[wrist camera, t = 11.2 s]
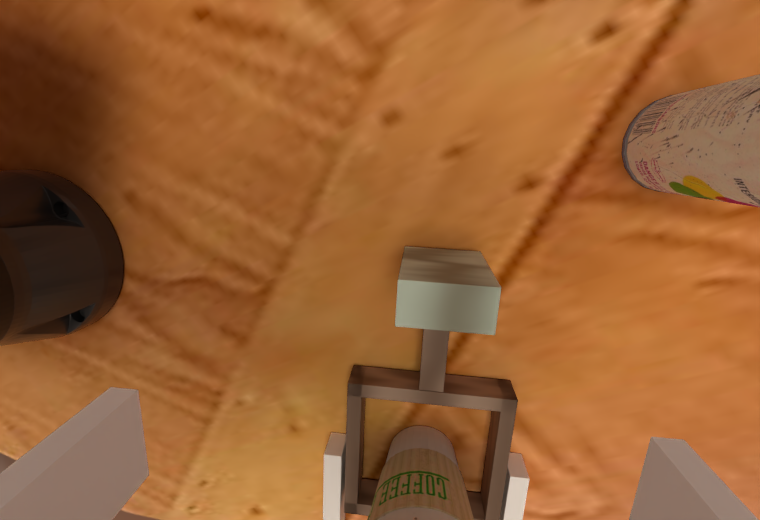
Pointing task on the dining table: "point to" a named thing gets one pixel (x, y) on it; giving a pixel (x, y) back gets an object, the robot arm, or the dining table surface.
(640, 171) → the aerosol can
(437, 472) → the coffee cup
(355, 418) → the square frame with handle
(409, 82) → the dining table surface
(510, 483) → the light grey u-shaped frame
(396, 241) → the dining table surface
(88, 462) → the robot arm
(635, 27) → the dining table surface
